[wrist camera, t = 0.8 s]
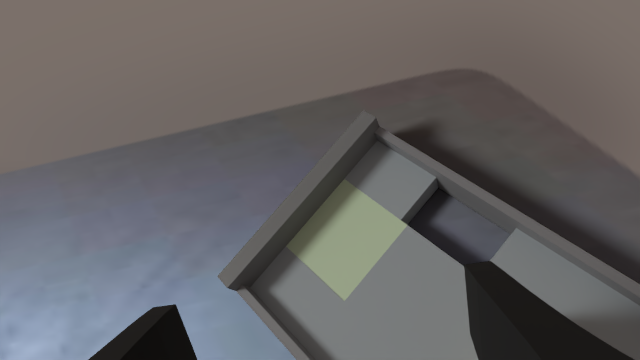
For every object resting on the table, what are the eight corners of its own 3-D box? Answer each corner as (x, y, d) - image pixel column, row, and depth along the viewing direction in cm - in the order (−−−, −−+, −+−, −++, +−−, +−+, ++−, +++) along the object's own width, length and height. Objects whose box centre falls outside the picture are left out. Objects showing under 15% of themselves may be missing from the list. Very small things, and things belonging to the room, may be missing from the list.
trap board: (780, 394, 17) (846, 398, 14) (595, 673, 15) (623, 744, 12) (375, 138, 28) (363, 110, 25) (246, 287, 27) (217, 276, 24)
